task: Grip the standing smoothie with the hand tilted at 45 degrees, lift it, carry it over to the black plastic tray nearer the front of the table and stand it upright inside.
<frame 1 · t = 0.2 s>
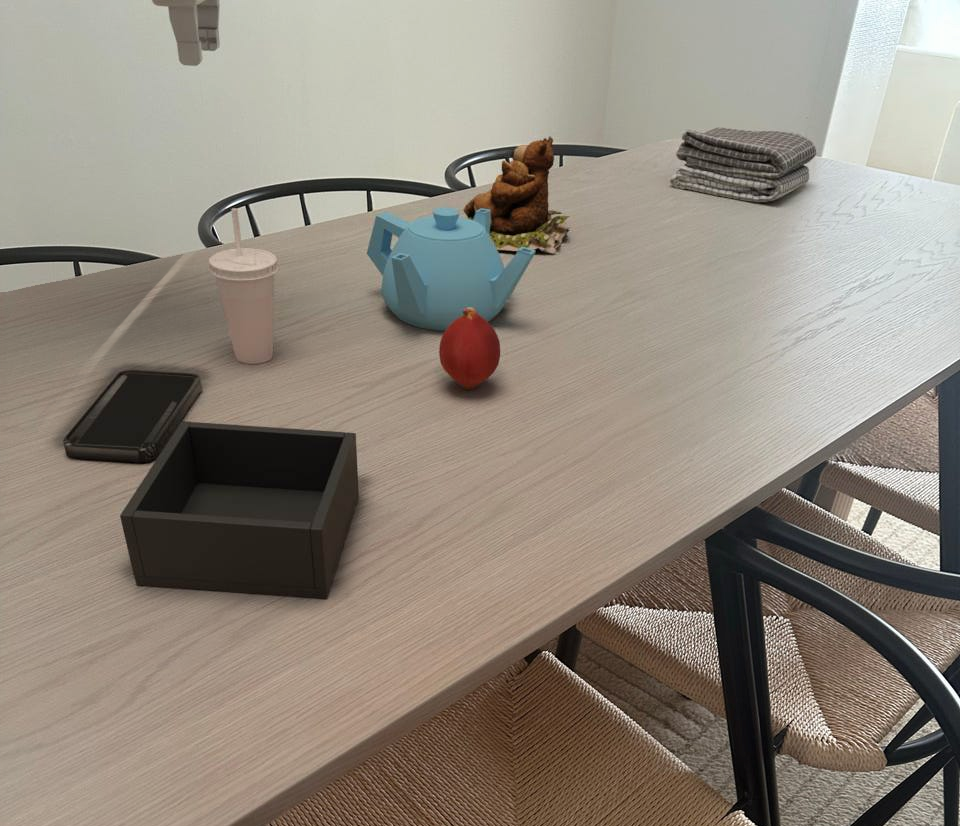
hand: (201, 57, 90), 25 cm above the table, tool pointing down, fingers open, 8 cm apart
smoothie: (254, 358, 99), on the table
onion: (468, 389, 96), on the table
phone: (138, 420, 88), on the table
teapot: (446, 312, 110), on the table
bear figurine: (510, 238, 131), on the table
black tray: (254, 538, 75), on the table
towel: (737, 187, 154), on the table
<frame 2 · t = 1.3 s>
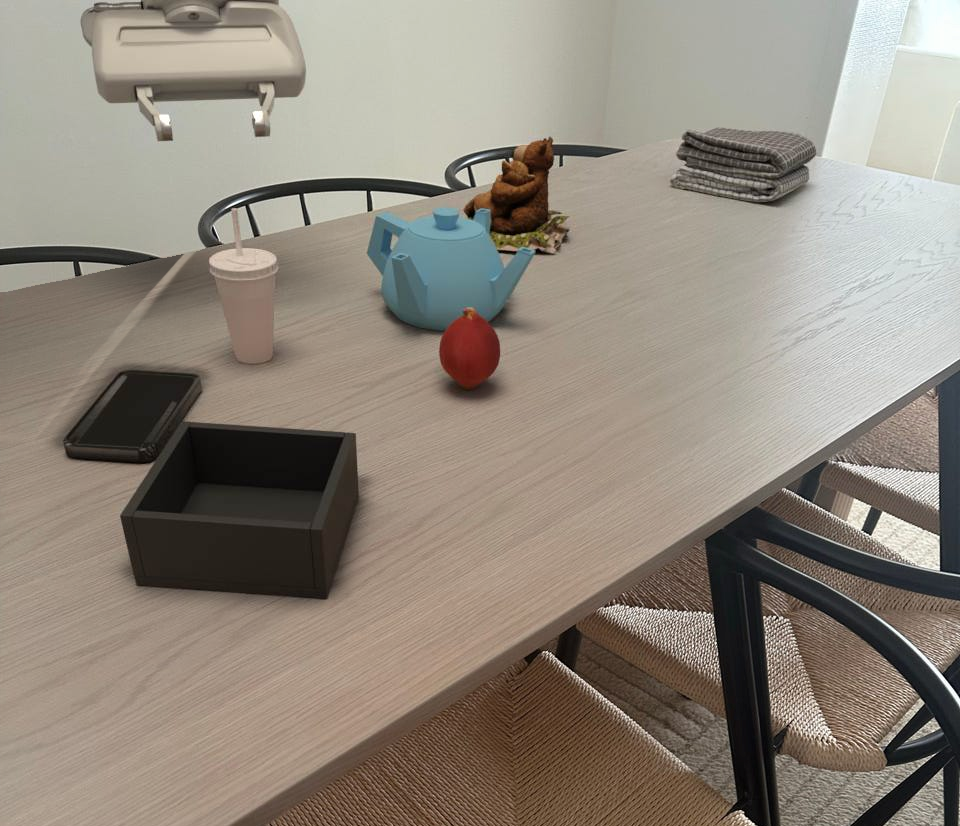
hand: (214, 135, 97), 18 cm above the table, tool tilted 45°, fingers open, 8 cm apart
nothing on the table moved.
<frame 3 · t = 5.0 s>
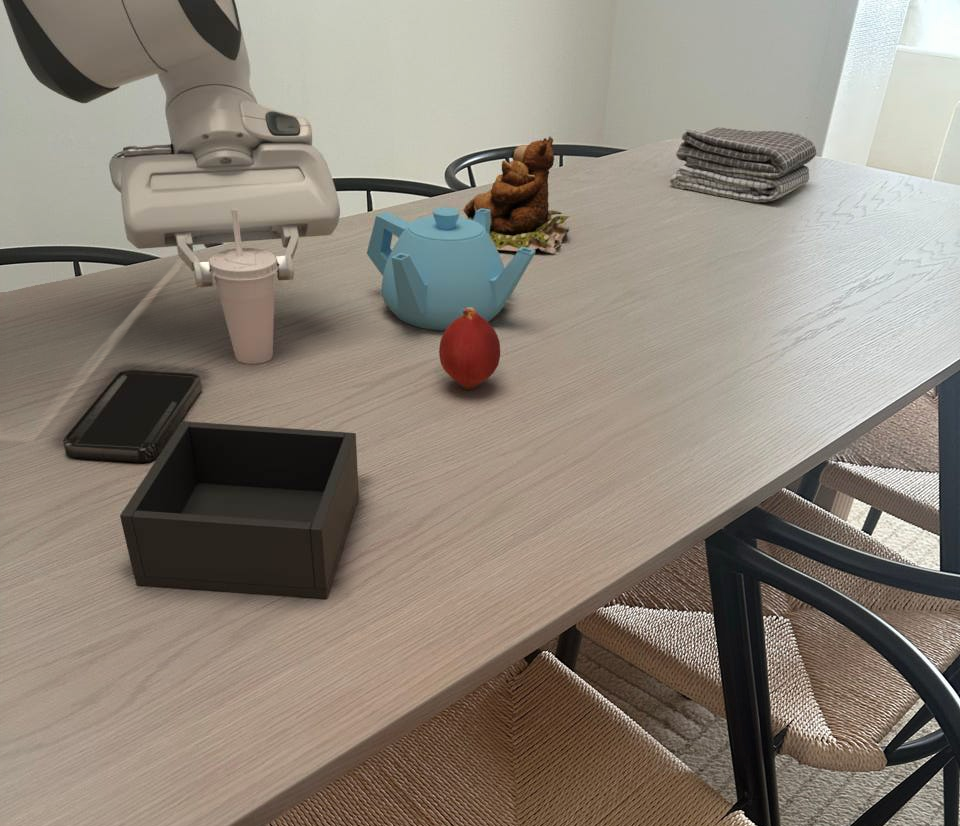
hand: (246, 280, 94), 8 cm above the table, tool tilted 45°, fingers closed on smoothie, 6 cm apart
smoothie: (254, 358, 99), on the table, touching gripper
everything else where it was.
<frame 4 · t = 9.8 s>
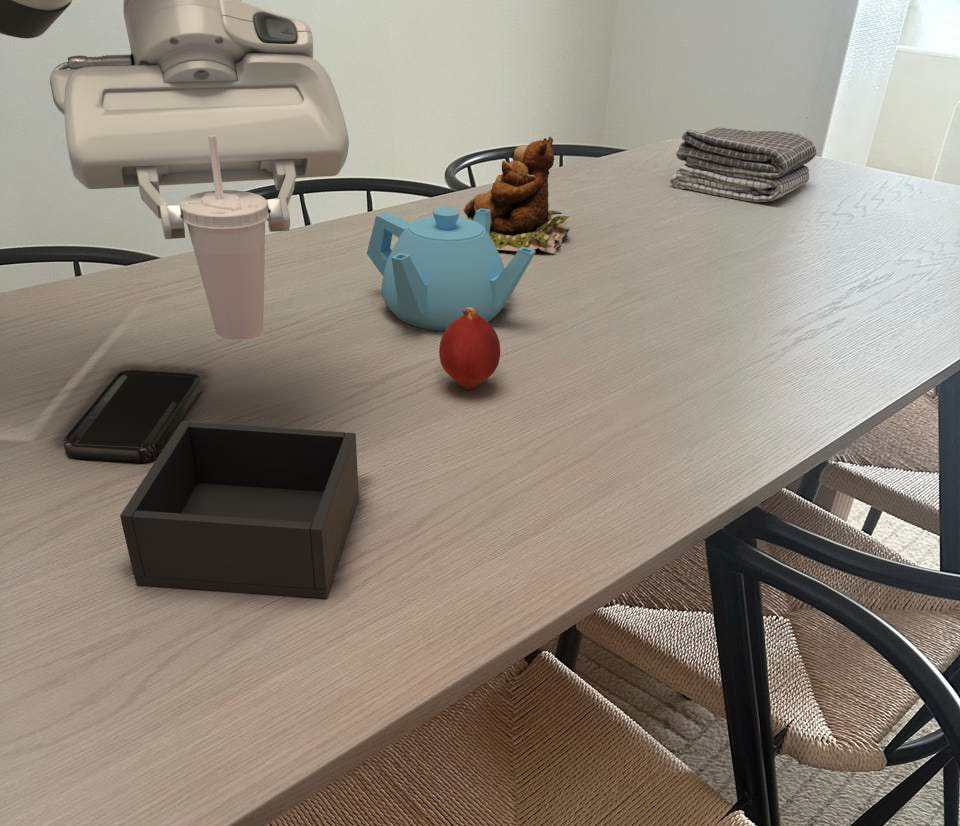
hand: (229, 231, 73), 18 cm above the table, tool tilted 45°, fingers closed on smoothie, 6 cm apart
smoothie: (240, 332, 79), point 10 cm above the table, touching gripper
everything else where it was.
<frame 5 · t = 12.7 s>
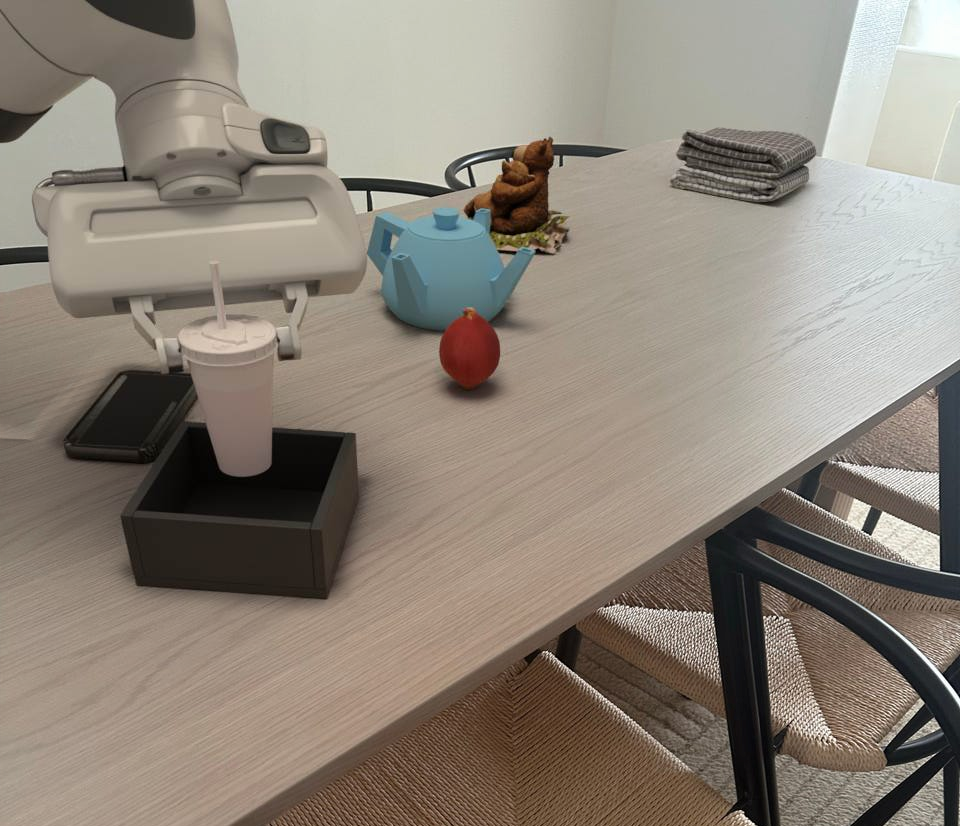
hand: (233, 363, 65), 14 cm above the table, tool tilted 45°, fingers closed on smoothie, 6 cm apart
smoothie: (245, 465, 71), point 6 cm above the table, touching gripper
everything else where it was.
when the fingers open (8 cm above the table, at t = 14.9 s): smoothie stays where it is, resting on black tray.
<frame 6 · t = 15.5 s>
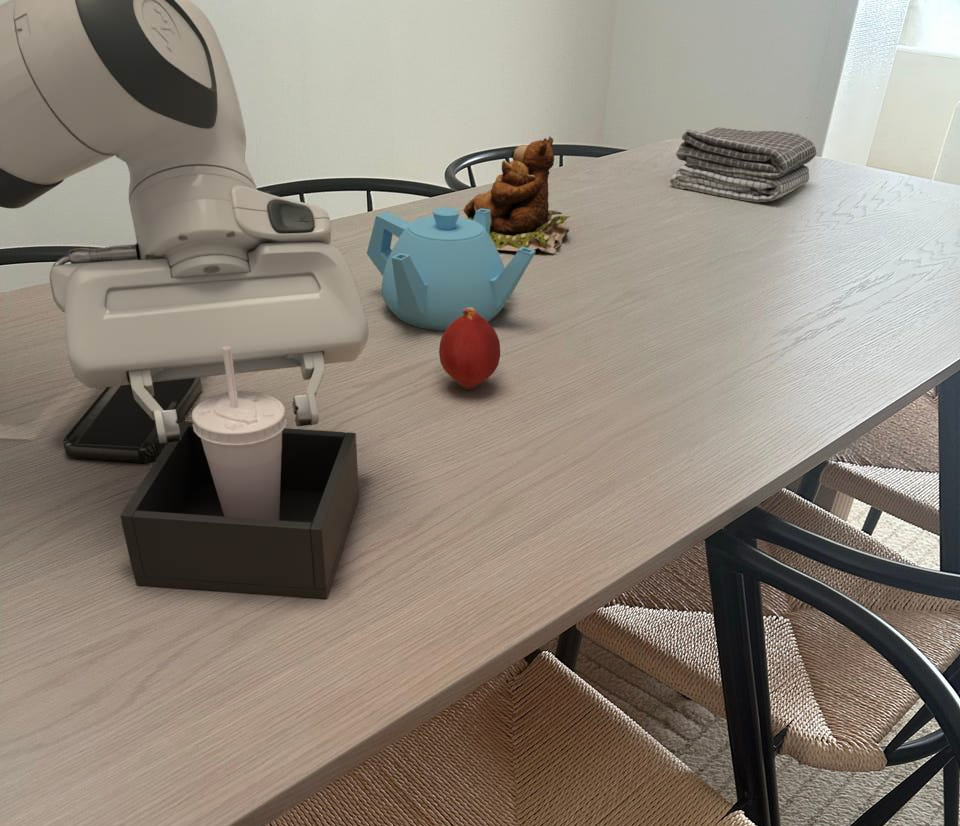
hand: (240, 431, 68), 9 cm above the table, tool tilted 45°, fingers open, 8 cm apart
smoothie: (254, 531, 74), point 1 cm above the table, touching black tray
everything else where it was.
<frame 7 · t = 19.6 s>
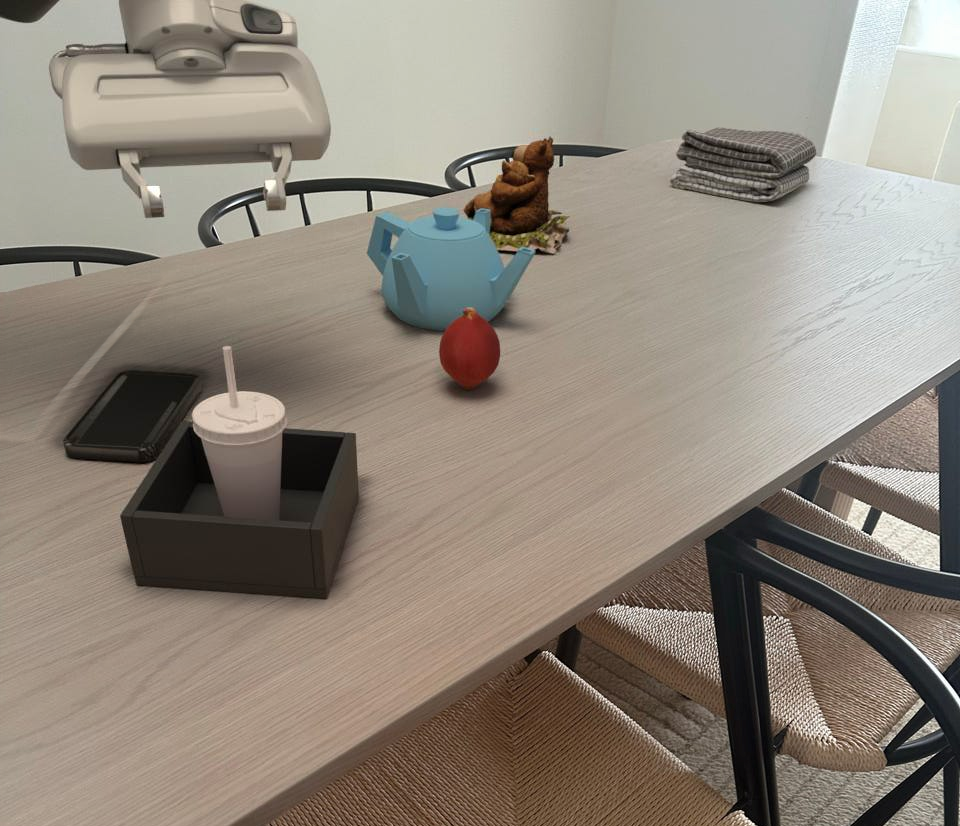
hand: (216, 210, 77), 18 cm above the table, tool tilted 45°, fingers open, 8 cm apart
nothing on the table moved.
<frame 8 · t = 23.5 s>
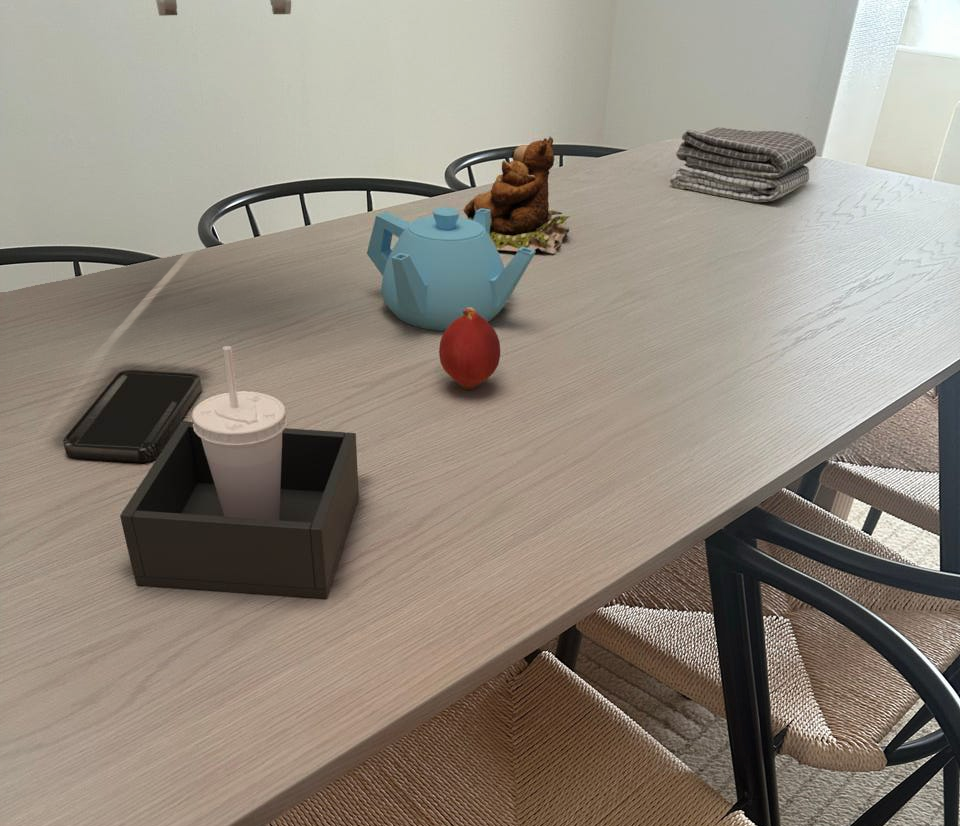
hand: (226, 10, 82), 29 cm above the table, tool tilted 45°, fingers open, 8 cm apart
nothing on the table moved.
at the end: smoothie inside the target area in the black tray (0.0 cm from its centre), point 0.6 cm above the black tray's base; smoothie tilted 0°; the gripper is holding nothing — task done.
